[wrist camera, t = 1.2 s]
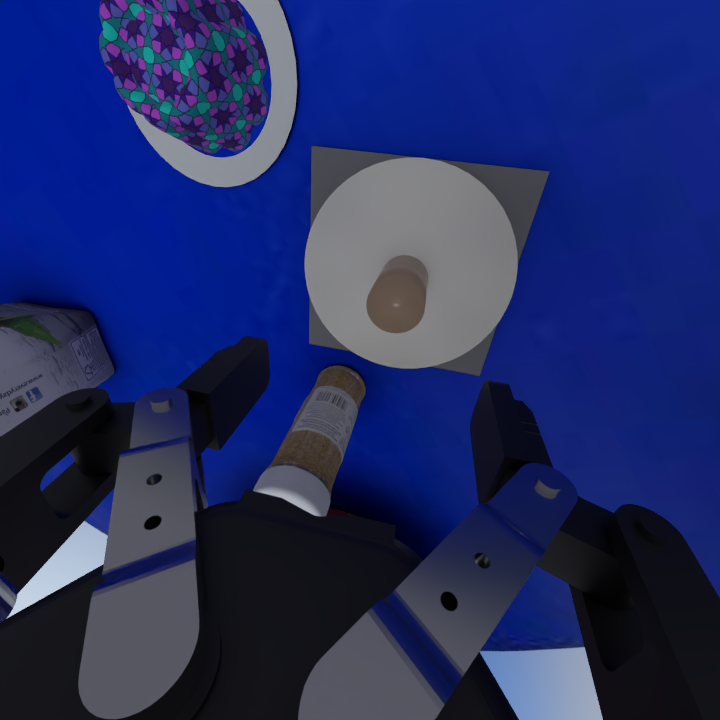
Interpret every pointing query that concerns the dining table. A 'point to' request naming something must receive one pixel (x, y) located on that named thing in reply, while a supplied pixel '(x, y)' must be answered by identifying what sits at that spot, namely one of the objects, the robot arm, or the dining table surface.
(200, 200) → the dining table surface
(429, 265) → the lid
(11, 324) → the juice carton
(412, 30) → the dining table surface
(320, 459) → the sprinkles bottle
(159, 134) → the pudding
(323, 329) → the mat
